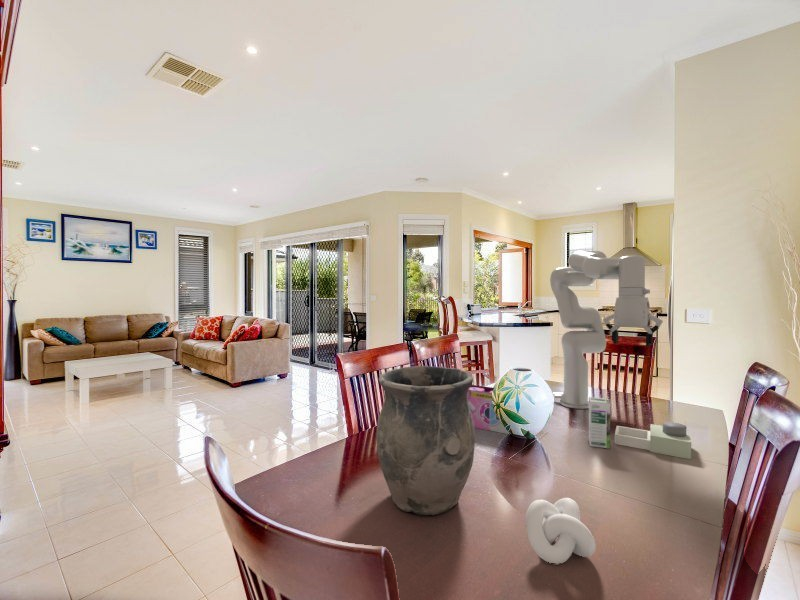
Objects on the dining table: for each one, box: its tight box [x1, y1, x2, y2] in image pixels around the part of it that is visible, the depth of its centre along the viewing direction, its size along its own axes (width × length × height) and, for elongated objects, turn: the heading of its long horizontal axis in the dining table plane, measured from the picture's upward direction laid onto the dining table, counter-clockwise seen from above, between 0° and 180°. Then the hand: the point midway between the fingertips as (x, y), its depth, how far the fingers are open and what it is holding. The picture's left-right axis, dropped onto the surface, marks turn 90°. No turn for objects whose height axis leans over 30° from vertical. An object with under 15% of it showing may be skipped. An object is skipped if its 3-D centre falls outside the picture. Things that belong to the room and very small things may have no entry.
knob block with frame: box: [614, 421, 692, 460], centre depth 124 cm, size 20×12×8 cm, turn 57°
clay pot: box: [375, 365, 476, 516], centre depth 92 cm, size 22×23×30 cm
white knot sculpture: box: [525, 497, 597, 565], centre depth 74 cm, size 11×12×9 cm
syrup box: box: [588, 396, 611, 449], centre depth 124 cm, size 6×6×14 cm
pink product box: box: [467, 384, 510, 435], centre depth 139 cm, size 24×8×14 cm, turn 57°
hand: (631, 344), depth 130 cm, fingers open, 9 cm apart
